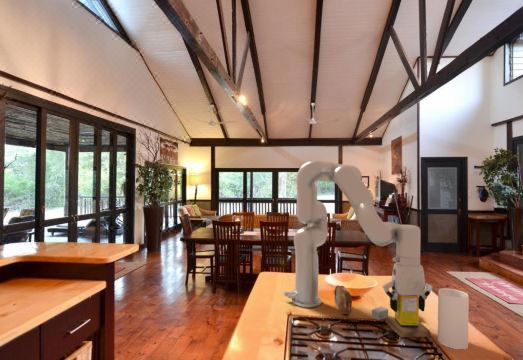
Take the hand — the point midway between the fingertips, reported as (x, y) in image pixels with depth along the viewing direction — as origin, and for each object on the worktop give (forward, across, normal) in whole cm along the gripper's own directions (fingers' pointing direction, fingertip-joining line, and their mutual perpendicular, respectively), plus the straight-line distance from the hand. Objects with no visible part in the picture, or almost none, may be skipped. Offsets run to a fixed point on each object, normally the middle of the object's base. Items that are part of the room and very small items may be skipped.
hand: (407, 309), depth 105 cm
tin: (+7, -17, +17) cm, 25 cm away
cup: (+7, +10, -9) cm, 15 cm away
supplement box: (+5, 0, 0) cm, 5 cm away
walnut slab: (+7, 0, 0) cm, 7 cm away
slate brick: (+7, -5, +10) cm, 13 cm away
